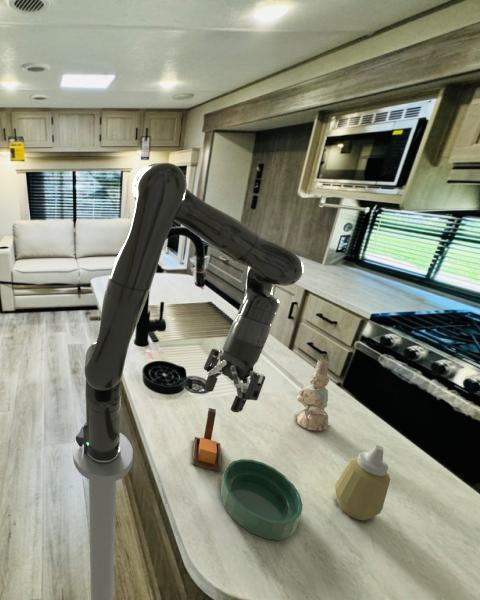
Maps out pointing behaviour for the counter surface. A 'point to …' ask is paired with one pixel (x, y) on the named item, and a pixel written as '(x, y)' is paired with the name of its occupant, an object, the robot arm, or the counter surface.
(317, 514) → the counter surface
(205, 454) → the block
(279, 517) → the green pet bowl
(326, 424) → the figurine
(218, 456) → the scoop
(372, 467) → the squeeze bottle
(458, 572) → the counter surface
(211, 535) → the counter surface
